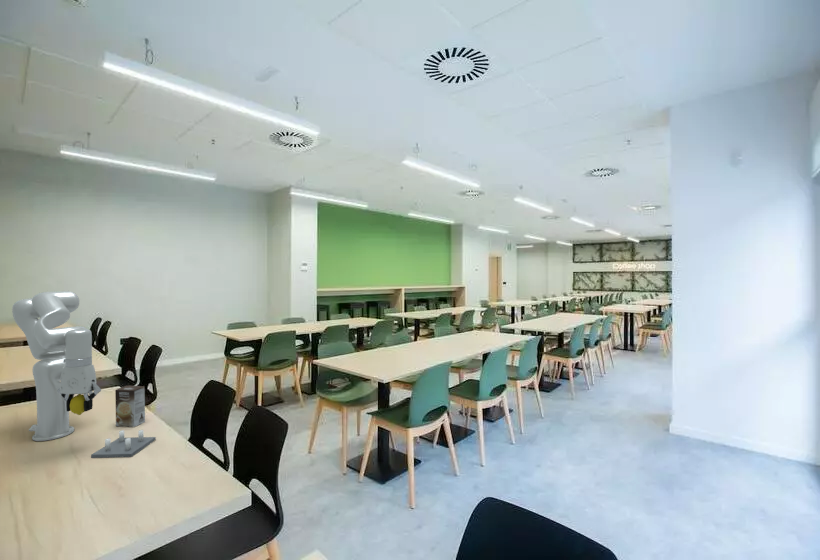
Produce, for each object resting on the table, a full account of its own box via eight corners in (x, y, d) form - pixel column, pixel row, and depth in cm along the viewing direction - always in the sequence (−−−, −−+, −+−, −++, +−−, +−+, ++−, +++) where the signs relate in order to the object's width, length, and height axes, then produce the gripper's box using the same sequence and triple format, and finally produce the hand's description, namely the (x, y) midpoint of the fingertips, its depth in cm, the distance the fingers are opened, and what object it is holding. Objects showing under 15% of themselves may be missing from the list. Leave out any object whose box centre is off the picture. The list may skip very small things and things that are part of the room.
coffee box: (114, 426, 165) (113, 389, 165) (127, 420, 172) (126, 385, 171) (134, 427, 164) (133, 390, 164) (146, 421, 171) (145, 385, 170)
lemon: (77, 412, 147) (77, 391, 146) (92, 412, 147) (92, 391, 147) (65, 418, 141) (65, 396, 141) (81, 417, 142) (81, 396, 141)
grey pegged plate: (91, 458, 137) (90, 443, 137) (119, 440, 151) (119, 427, 151) (131, 457, 138) (131, 442, 138) (155, 439, 152) (155, 427, 152)
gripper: (46, 364, 139) (46, 413, 140) (94, 365, 140) (95, 414, 141) (63, 359, 147) (64, 406, 147) (110, 360, 147) (110, 406, 148)
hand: (79, 409), depth 144 cm, fingers closed on lemon, 5 cm apart
